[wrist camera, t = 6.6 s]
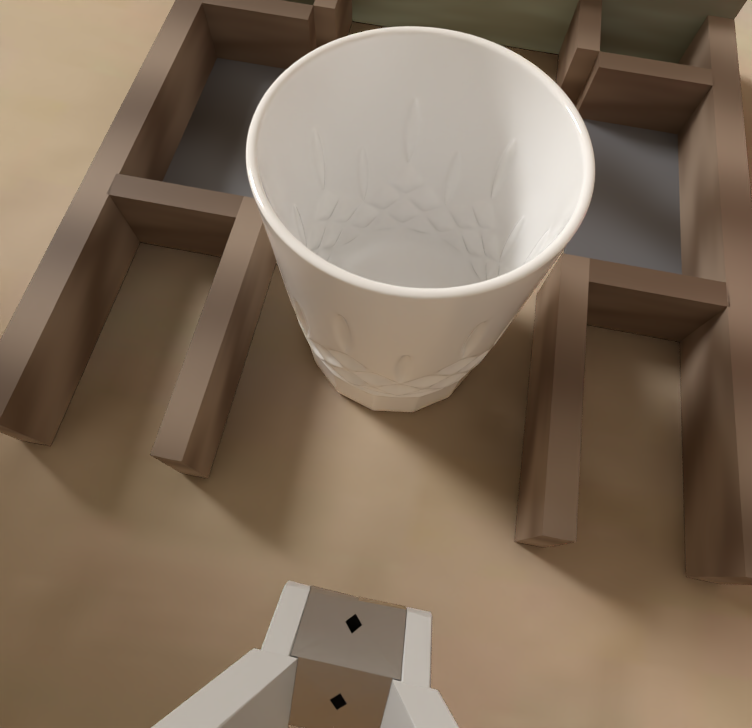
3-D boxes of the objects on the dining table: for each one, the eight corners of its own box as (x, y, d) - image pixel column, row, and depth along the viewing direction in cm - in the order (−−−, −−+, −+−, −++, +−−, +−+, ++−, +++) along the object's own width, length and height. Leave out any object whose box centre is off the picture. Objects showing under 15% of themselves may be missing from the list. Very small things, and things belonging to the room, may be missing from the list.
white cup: (340, 462, 19) (321, 354, 10) (269, 287, 22) (200, 72, 12) (527, 382, 20) (667, 222, 11) (439, 227, 23) (492, -6, 14)
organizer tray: (721, 583, 18) (847, 586, 13) (19, 439, 19) (-91, 395, 14) (694, 57, 28) (762, -48, 23) (230, -17, 29) (205, -131, 24)
